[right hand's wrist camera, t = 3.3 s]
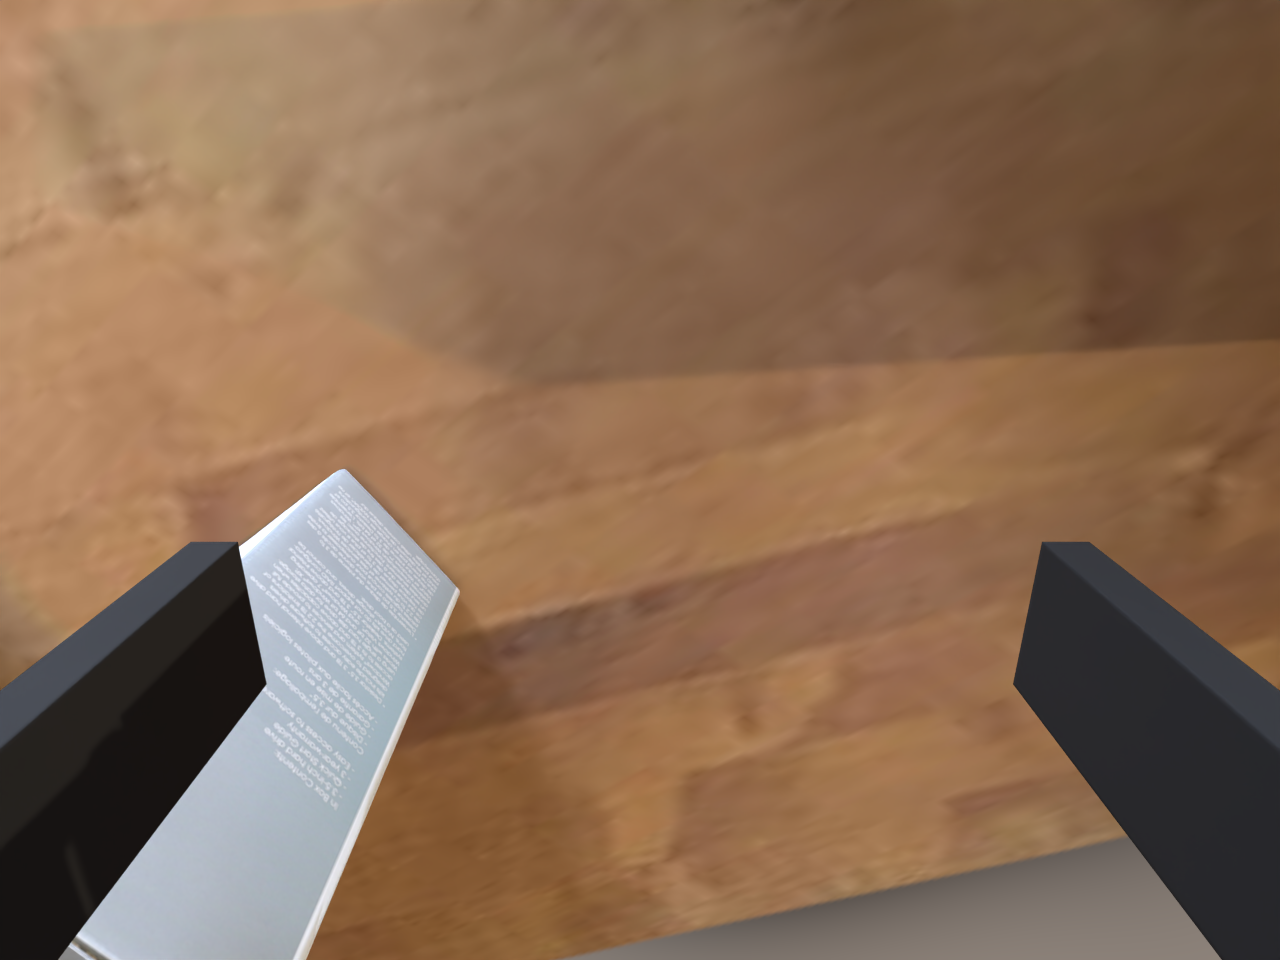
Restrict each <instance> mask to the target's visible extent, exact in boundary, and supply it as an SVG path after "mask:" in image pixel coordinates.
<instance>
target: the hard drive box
mask: <svg viewBox="0 0 1280 960" xmlns="http://www.w3.org/2000/svg"><path fill="white" fill-rule="evenodd" d="M239 550H240V555H241V560H242V565H243V570H244V575H245V580H246V584H247V589H248V594H249V599H250V604H251V609H252V614H253V619H254V624H255V629H256V633H257V638H258V643H259V648H260V653H261V658H262V663H263V668H264V673H265V678H266V683H267V685H266V686H265V687H264V689H263V690H262V691H261V693H260V694H259V695H258V697H257V698H256V699H255V700H254V702H253V703H252V704H251V706H250V707H249V708H248V710H247V711H246V712H245V714H244V715H243V716H242V718H241V719H240V720H239V722H238V723H237V724H236V726H235V727H234V728H233V730H232V731H231V732H230V733H229V735H228V736H227V737H226V739H225V740H224V741H223V743H222V744H221V745H220V747H219V748H218V749H217V751H216V752H215V753H214V755H213V756H212V757H211V759H210V760H209V761H208V763H207V764H206V765H205V766H204V768H203V769H202V770H201V772H200V773H199V774H198V776H197V777H196V778H195V780H194V781H193V782H192V784H191V785H190V786H189V788H188V789H187V790H186V792H185V793H184V794H183V796H182V797H181V798H180V799H179V801H178V802H177V803H176V805H175V806H174V807H173V809H172V810H171V811H170V813H169V814H168V815H167V817H166V818H165V819H164V821H163V822H162V823H161V825H160V826H159V827H158V829H157V830H156V831H155V832H154V834H153V835H152V836H151V838H150V839H149V840H148V842H147V843H146V844H145V846H144V847H143V848H142V850H141V851H140V852H139V854H138V855H137V856H136V858H135V859H134V860H133V862H132V863H131V864H130V865H129V867H128V868H127V869H126V871H125V872H124V873H123V875H122V876H121V877H120V879H119V880H118V881H117V883H116V884H115V885H114V887H113V888H112V889H111V891H110V892H109V893H108V895H107V896H106V897H105V899H104V900H103V901H102V902H101V904H100V905H99V906H98V908H97V909H96V910H95V912H94V913H93V914H92V916H91V917H90V918H89V920H88V921H87V922H86V924H85V925H84V926H83V928H82V929H81V930H80V932H79V933H78V934H77V935H76V937H75V938H74V939H73V941H72V942H71V943H70V945H69V946H68V947H67V949H66V950H65V951H64V953H63V954H62V955H61V957H60V958H59V959H58V960H306V958H307V956H308V954H309V951H310V949H311V946H312V944H313V941H314V939H315V937H316V934H317V932H318V930H319V927H320V925H321V922H322V920H323V918H324V915H325V913H326V911H327V908H328V906H329V903H330V901H331V899H332V896H333V894H334V891H335V889H336V887H337V884H338V882H339V880H340V877H341V875H342V872H343V870H344V868H345V865H346V863H347V861H348V858H349V856H350V853H351V851H352V849H353V846H354V844H355V842H356V839H357V837H358V834H359V832H360V830H361V827H362V825H363V823H364V820H365V818H366V816H367V813H368V811H369V808H370V806H371V804H372V801H373V799H374V796H375V794H376V792H377V789H378V787H379V784H380V782H381V780H382V777H383V775H384V772H385V770H386V768H387V765H388V763H389V761H390V758H391V756H392V754H393V751H394V749H395V746H396V744H397V742H398V739H399V737H400V734H401V732H402V730H403V727H404V725H405V722H406V720H407V718H408V715H409V713H410V711H411V708H412V706H413V704H414V701H415V699H416V696H417V694H418V692H419V689H420V687H421V685H422V682H423V680H424V678H425V675H426V673H427V671H428V668H429V666H430V664H431V661H432V659H433V656H434V653H435V651H436V649H437V647H438V644H439V642H440V639H441V637H442V634H443V632H444V630H445V628H446V625H447V623H448V621H449V618H450V616H451V613H452V611H453V609H454V606H455V604H456V602H457V599H458V597H459V594H460V591H459V589H458V588H457V587H456V586H455V585H454V584H453V583H452V581H451V580H450V579H449V578H448V577H447V576H446V575H445V574H444V573H443V572H442V571H441V570H440V568H439V567H438V566H437V565H436V564H435V563H434V562H433V561H432V560H431V559H430V558H429V557H428V556H427V555H426V553H425V552H424V551H423V550H422V549H421V548H420V547H419V546H418V545H417V544H416V543H415V542H414V540H413V539H412V538H411V537H410V536H409V535H408V534H407V533H406V532H405V531H404V530H403V529H402V528H401V527H400V526H399V525H398V524H397V522H396V521H395V520H394V519H393V518H392V517H391V516H390V515H389V514H388V513H387V512H386V511H385V510H384V508H383V507H382V506H381V505H380V504H379V503H378V502H377V501H376V500H375V499H374V498H373V497H372V496H371V495H370V494H369V493H368V492H367V491H366V490H365V489H364V488H363V487H362V486H361V485H360V484H359V483H358V481H357V480H356V479H355V478H354V477H353V476H352V475H351V474H350V473H349V472H348V471H347V470H345V469H342V470H339V471H337V472H335V473H334V474H333V475H331V476H330V477H329V478H327V479H326V480H325V481H323V482H322V483H321V484H319V485H318V486H317V487H316V488H314V489H313V490H312V491H311V492H309V493H308V494H307V495H306V496H304V497H303V498H302V499H301V500H299V501H298V502H297V503H296V504H294V505H293V506H292V507H290V508H289V509H288V510H287V511H285V512H284V513H283V514H281V515H280V516H279V517H277V518H276V519H275V520H274V521H272V522H271V523H270V524H269V525H267V526H266V527H265V528H263V529H262V530H261V531H260V532H258V533H257V534H256V535H255V536H253V537H252V538H251V539H249V540H248V541H247V542H246V543H244V544H243V545H242V546H240V547H239Z"/></svg>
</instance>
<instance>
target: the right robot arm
mask: <svg viewBox="0 0 1280 960" xmlns="http://www.w3.org/2000/svg"><path fill="white" fill-rule="evenodd" d="M266 685H267V683H266V678H265V673H264V668H263V663H262V658H261V653H260V648H259V643H258V638H257V633H256V629H255V624H254V619H253V614H252V609H251V604H250V599H249V594H248V589H247V584H246V580H245V575H244V570H243V565H242V560H241V555H240V550H239V545H238V542H190V543H189V544H188V545H186V546H185V547H184V548H182V549H181V550H180V551H179V552H177V553H176V554H175V555H174V556H172V557H171V558H170V559H168V560H167V561H166V562H165V563H163V564H162V565H161V566H159V567H158V568H157V569H156V570H154V571H153V572H152V573H150V574H149V575H148V576H147V577H145V578H144V579H143V580H141V581H140V582H139V583H138V584H136V585H135V586H134V587H133V588H131V589H130V590H129V591H127V592H126V593H125V594H124V595H122V596H121V597H120V598H118V599H117V600H116V601H115V602H113V603H112V604H111V605H109V606H108V607H107V608H106V609H104V610H103V611H102V612H100V613H99V614H98V615H97V616H95V617H94V618H93V619H91V620H90V621H89V622H88V623H86V624H85V625H84V626H83V627H81V628H80V629H79V630H77V631H76V632H75V633H74V634H72V635H71V636H70V637H68V638H67V639H66V640H65V641H63V642H62V643H61V644H59V645H58V646H57V647H56V648H54V649H53V650H52V651H50V652H49V653H48V654H47V655H45V656H44V657H43V658H42V659H40V660H39V661H38V662H36V663H35V664H34V665H33V666H31V667H30V668H29V669H27V670H26V671H25V672H24V673H22V674H21V675H20V676H18V677H17V678H16V679H15V680H13V681H12V682H11V683H9V684H8V685H7V686H6V687H4V688H3V689H2V690H0V960H58V959H59V958H60V957H61V955H62V954H63V953H64V951H65V950H66V949H67V947H68V946H69V945H70V943H71V942H72V941H73V939H74V938H75V937H76V935H77V934H78V933H79V932H80V930H81V929H82V928H83V926H84V925H85V924H86V922H87V921H88V920H89V918H90V917H91V916H92V914H93V913H94V912H95V910H96V909H97V908H98V906H99V905H100V904H101V902H102V901H103V900H104V899H105V897H106V896H107V895H108V893H109V892H110V891H111V889H112V888H113V887H114V885H115V884H116V883H117V881H118V880H119V879H120V877H121V876H122V875H123V873H124V872H125V871H126V869H127V868H128V867H129V865H130V864H131V863H132V862H133V860H134V859H135V858H136V856H137V855H138V854H139V852H140V851H141V850H142V848H143V847H144V846H145V844H146V843H147V842H148V840H149V839H150V838H151V836H152V835H153V834H154V832H155V831H156V830H157V829H158V827H159V826H160V825H161V823H162V822H163V821H164V819H165V818H166V817H167V815H168V814H169V813H170V811H171V810H172V809H173V807H174V806H175V805H176V803H177V802H178V801H179V799H180V798H181V797H182V796H183V794H184V793H185V792H186V790H187V789H188V788H189V786H190V785H191V784H192V782H193V781H194V780H195V778H196V777H197V776H198V774H199V773H200V772H201V770H202V769H203V768H204V766H205V765H206V764H207V763H208V761H209V760H210V759H211V757H212V756H213V755H214V753H215V752H216V751H217V749H218V748H219V747H220V745H221V744H222V743H223V741H224V740H225V739H226V737H227V736H228V735H229V733H230V732H231V731H232V730H233V728H234V727H235V726H236V724H237V723H238V722H239V720H240V719H241V718H242V716H243V715H244V714H245V712H246V711H247V710H248V708H249V707H250V706H251V704H252V703H253V702H254V700H255V699H256V698H257V697H258V695H259V694H260V693H261V691H262V690H263V689H264V687H265V686H266ZM1013 685H1014V686H1015V687H1016V689H1017V690H1018V691H1019V693H1020V694H1021V695H1022V697H1023V698H1024V699H1025V700H1026V702H1027V703H1028V704H1029V706H1030V707H1031V708H1032V710H1033V711H1034V712H1035V714H1036V715H1037V716H1038V718H1039V719H1040V720H1041V722H1042V723H1043V724H1044V726H1045V727H1046V728H1047V730H1048V731H1049V732H1050V733H1051V735H1052V736H1053V737H1054V739H1055V740H1056V741H1057V743H1058V744H1059V745H1060V747H1061V748H1062V749H1063V751H1064V752H1065V753H1066V755H1067V756H1068V757H1069V759H1070V760H1071V761H1072V763H1073V764H1074V765H1075V766H1076V768H1077V769H1078V770H1079V772H1080V773H1081V774H1082V776H1083V777H1084V778H1085V780H1086V781H1087V782H1088V784H1089V785H1090V786H1091V788H1092V789H1093V790H1094V792H1095V793H1096V794H1097V796H1098V797H1099V798H1100V799H1101V801H1102V802H1103V803H1104V805H1105V806H1106V807H1107V809H1108V810H1109V811H1110V813H1111V814H1112V815H1113V817H1114V818H1115V819H1116V821H1117V822H1118V823H1119V825H1120V826H1121V827H1122V829H1123V830H1124V831H1125V832H1126V834H1127V835H1128V836H1129V838H1130V839H1131V840H1132V842H1133V843H1134V844H1135V846H1136V847H1137V848H1138V850H1139V851H1140V852H1141V854H1142V855H1143V856H1144V858H1145V859H1146V860H1147V861H1148V863H1149V864H1150V865H1151V867H1152V868H1153V869H1154V871H1155V872H1156V873H1157V875H1158V876H1159V877H1160V879H1161V880H1162V881H1163V883H1164V884H1165V885H1166V887H1167V888H1168V889H1169V890H1170V892H1171V893H1172V894H1173V896H1174V897H1175V898H1176V900H1177V901H1178V902H1179V904H1180V905H1181V906H1182V908H1183V909H1184V910H1185V912H1186V913H1187V914H1188V916H1189V917H1190V918H1191V920H1192V921H1193V922H1194V924H1195V925H1196V926H1197V927H1198V929H1199V930H1200V932H1201V933H1202V934H1203V935H1204V937H1205V938H1206V939H1207V941H1208V942H1209V943H1210V945H1211V946H1212V947H1213V949H1214V950H1215V951H1216V953H1217V954H1218V955H1219V957H1220V958H1221V959H1222V960H1280V690H1278V689H1277V688H1276V687H1274V686H1273V685H1272V684H1271V683H1269V682H1268V681H1267V680H1265V679H1264V678H1263V677H1262V676H1260V675H1259V674H1258V673H1256V672H1255V671H1254V670H1253V669H1251V668H1250V667H1249V666H1247V665H1246V664H1245V663H1244V662H1242V661H1241V660H1240V659H1238V658H1237V657H1236V656H1235V655H1233V654H1232V653H1231V652H1230V651H1228V650H1227V649H1226V648H1224V647H1223V646H1222V645H1221V644H1219V643H1218V642H1217V641H1215V640H1214V639H1213V638H1212V637H1210V636H1209V635H1208V634H1206V633H1205V632H1204V631H1203V630H1201V629H1200V628H1199V627H1197V626H1196V625H1195V624H1194V623H1192V622H1191V621H1190V620H1189V619H1187V618H1186V617H1185V616H1183V615H1182V614H1181V613H1180V612H1178V611H1177V610H1176V609H1174V608H1173V607H1172V606H1171V605H1169V604H1168V603H1167V602H1165V601H1164V600H1163V599H1162V598H1160V597H1159V596H1158V595H1156V594H1155V593H1154V592H1153V591H1151V590H1150V589H1149V588H1147V587H1146V586H1145V585H1144V584H1142V583H1141V582H1140V581H1139V580H1137V579H1136V578H1135V577H1133V576H1132V575H1131V574H1130V573H1128V572H1127V571H1126V570H1124V569H1123V568H1122V567H1121V566H1119V565H1118V564H1117V563H1115V562H1114V561H1113V560H1112V559H1110V558H1109V557H1108V556H1106V555H1105V554H1104V553H1103V552H1101V551H1100V550H1099V549H1098V548H1096V547H1095V546H1094V545H1092V544H1091V543H1090V542H1042V545H1041V550H1040V555H1039V560H1038V565H1037V570H1036V575H1035V580H1034V584H1033V589H1032V594H1031V599H1030V604H1029V609H1028V614H1027V619H1026V624H1025V629H1024V633H1023V638H1022V643H1021V648H1020V653H1019V658H1018V663H1017V668H1016V673H1015V678H1014V683H1013Z"/></svg>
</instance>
